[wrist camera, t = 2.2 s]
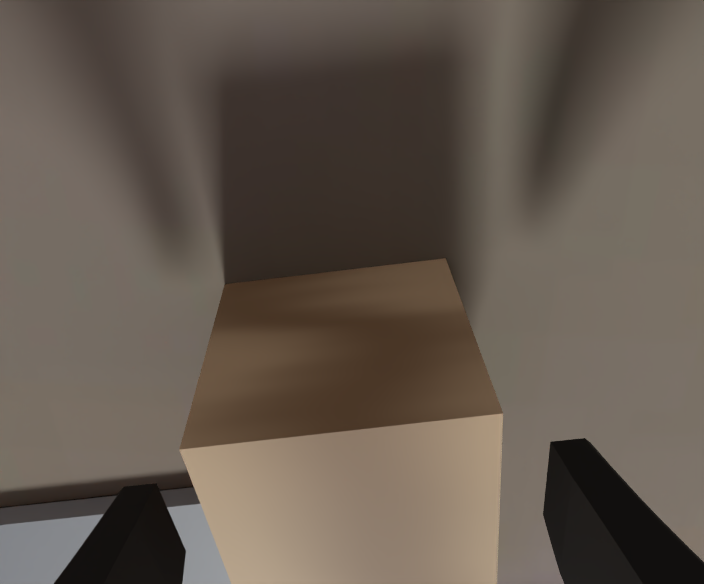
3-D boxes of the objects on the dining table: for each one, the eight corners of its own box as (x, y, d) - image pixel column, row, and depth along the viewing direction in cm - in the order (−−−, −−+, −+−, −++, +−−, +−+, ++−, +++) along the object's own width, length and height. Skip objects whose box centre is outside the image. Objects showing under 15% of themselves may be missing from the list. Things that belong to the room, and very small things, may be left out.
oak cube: (267, 437, 16) (247, 623, 12) (225, 281, 13) (179, 450, 9) (449, 417, 16) (496, 597, 12) (444, 256, 13) (502, 413, 9)
